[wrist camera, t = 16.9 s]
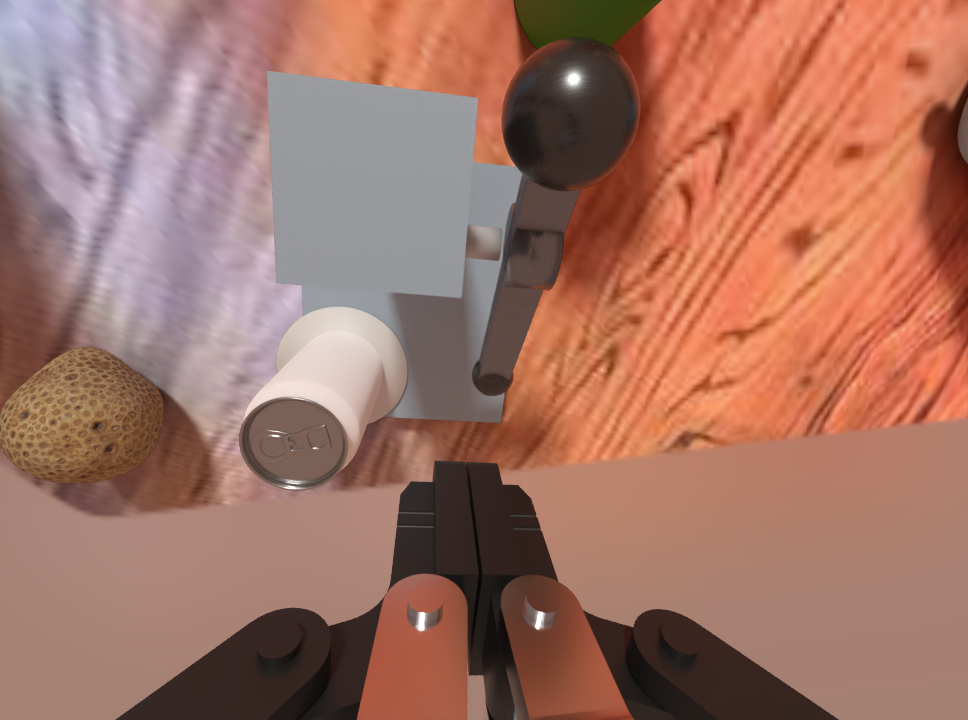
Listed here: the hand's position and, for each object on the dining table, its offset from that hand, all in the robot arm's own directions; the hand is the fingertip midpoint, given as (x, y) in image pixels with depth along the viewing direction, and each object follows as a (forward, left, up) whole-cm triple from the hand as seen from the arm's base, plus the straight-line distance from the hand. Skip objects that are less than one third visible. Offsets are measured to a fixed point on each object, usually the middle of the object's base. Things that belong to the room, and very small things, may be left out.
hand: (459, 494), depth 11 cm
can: (-8, -6, -25) cm, 27 cm away
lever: (+3, +5, -15) cm, 16 cm away
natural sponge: (-25, -10, -27) cm, 38 cm away
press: (-4, -1, -27) cm, 28 cm away
